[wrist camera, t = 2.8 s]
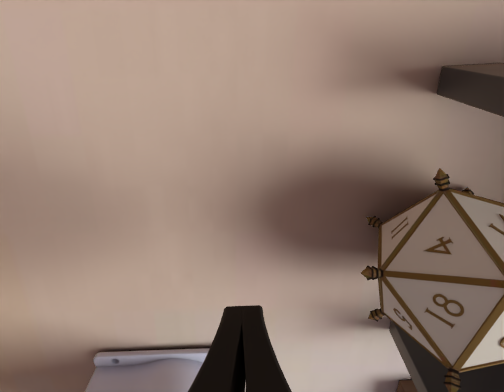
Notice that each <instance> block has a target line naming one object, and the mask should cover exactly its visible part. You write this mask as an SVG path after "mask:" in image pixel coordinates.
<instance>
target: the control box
mask: <svg viewBox="0 0 504 392" xmlns="http://www.w3.org/2000/svg"><path fill="white" fill-rule="evenodd" d="M397 392H418V391H417V389H416V387H415V385H414V383H413V380H400V381H399V384H398V388H397Z"/></svg>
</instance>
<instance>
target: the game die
mask: <svg viewBox="0 0 504 392" xmlns="http://www.w3.org/2000/svg"><path fill="white" fill-rule="evenodd" d="M448 178H449V176H448V174H445V173H444V172H443V171H442V170H441V169H440V168H439V170H438V172H437V174H436V176H435V177H434V178H433V180H435V182H436V183H435V185H437V186H438V188H439V190H438V191H436V192H434V193H433V194H431V195H429V196H427V197H426V198H424V199H422V200H421V201H419V202H417V203H416V204H414V205H412V206H411V207H409V208H407V209H406V210H404V211H402V212H401V213H399V214H397V215H396V216H394V217H392V218H391V219H389V220H387V221H386V222H384V223H382V222H381V221H380V220H379V218H378V219H377V218H376V216H374V217H366V218H367V220H368V222H369V225H372V227H378V228H379V238H378V269H377V268H376V267H374V266H372V267H370V266H367V267H366V269H365V270H363V271H362V272H361V274H362V275H364V276H365V277H366V278H367V280H370V279H372V280H374V279H377V278H378V282H379V294H380V306H381V308H380V309H375V310H373V311H370V312H371V313H370V315H369V318H368V319H373V320H376V321H378V319H382V317H383V316H384V315H386V316H387V317H388V318H389V319H390V320H391V321H393V322H394V323H395V324H396V325H397V326H399V327H400V328H401V329H402V330H403V331H404V332H406V333H407V334H408V335H409V336H410V337H411V338H413V339H414V340H415V341H416V342H417V343H418V344H420V345H421V346H422V347H423V348H424V349H425V350H427V351H428V352H429V353H430V354H431V355H432V356H434V357H435V358H436V359H437V360H438V361H439V362H441V363H442V364H443V365H444V366H445V367H446V368H448V373H447V375H444V377H445V378H446V379H445V382H443V383H444V384H445V385H446V387H447V389H448V391H449V392H457V391H458V390H460V389H461V386H460V382H461V379H460V378H459V373H460V372H465V371H470V370H474V369H479V368H484V367H489V366H493V365H498V364H503V363H504V203H501V202H497V201H493V200H490V199H486V198H483V197H479V196H476V195H474V193H473V192H472V191H471V190H469V188H468V187H467V188H466V189H464V190H462V192H461V191H458V190H454V189H451V188H448V185H449V184H450V182H449V180H448Z"/></svg>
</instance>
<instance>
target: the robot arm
mask: <svg viewBox="0 0 504 392" xmlns="http://www.w3.org/2000/svg"><path fill="white" fill-rule="evenodd" d="M93 361H94V364H95V366H96V368H95V371H94V373H93V375H92V377H91V379H90V381H89V384H88V386H87V388H86V390H85V392H245V382H246V392H292V391H291V389H290V387H289V385H288V383H287V381H286V379H285V377H284V374H283V372H282V370H281V368H280V365H279V363H278V361H277V358H276V355H275V353H274V350H273V348H272V345H271V342H270V339H269V336H268V333H267V329H266V326H265V322H264V317H263V310H262V307H261V306H259V305H258V306H232V307H226V308H225V309H224V312H223V316H222V319H221V322H220V325H219V328H218V330H217V333H216V335H215V338H214V340H213V342H212V345H211V347H210V348H202V349H174V350H146V351H118V352H99V353H97V354H96V355H95V357H94V359H93Z"/></svg>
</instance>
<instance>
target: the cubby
mask: <svg viewBox="0 0 504 392" xmlns="http://www.w3.org/2000/svg"><path fill="white" fill-rule="evenodd" d="M437 94H438V95H440V96H443V97H446V98H449V99H452V100H455V101H458V102H461V103H464V104H467V105H470V106H473V107H476V108H479V109H482V110H485V111H488V112H491V113H494V114H497V115H500V116H503V117H504V63H492V64H473V65H455V66H443V67H442V70H441V75H440V80H439V85H438V90H437ZM390 333H391V335H392V337H393V339H394V341H395V344H396V346H397V348H398V350H399V352H400V354H401V357H402V359H403V361H404V363H405V365H406V367H407V370H408V372H409V374H410V376H411V378H412V380H413V383H414V385H415V387H416V389H417V391H418V392H449V391H448V389H447V387H446V385H445V384H444V383H443V382H445V379H446V378H445V377H444V375H447V373H448V368H446V367H445V366H444V365H443V364H442V363H441V362H439V361H438V360H437V359H436V358H435V357H434V356H432V355H431V354H430V353H429V352H428V351H427V350H425V349H424V348H423V347H422V346H421V345H420V344H418V343H417V342H416V341H415V340H414V339H413V338H411V337H410V336H409V335H408V334H407V333H406V332H404V331H403V330H402V329H401V328H400V327H399V326H397V325H396V324H395V323H394V322H393V321H391V325H390ZM459 378H460V379H461V382H460V386H461V389H460V390H458V391H457V392H504V363H503V364H498V365H493V366H489V367H484V368H479V369H474V370H470V371H465V372H460V373H459Z"/></svg>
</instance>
